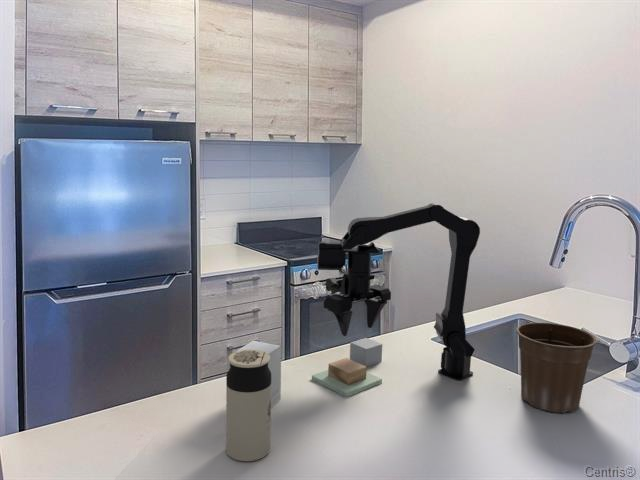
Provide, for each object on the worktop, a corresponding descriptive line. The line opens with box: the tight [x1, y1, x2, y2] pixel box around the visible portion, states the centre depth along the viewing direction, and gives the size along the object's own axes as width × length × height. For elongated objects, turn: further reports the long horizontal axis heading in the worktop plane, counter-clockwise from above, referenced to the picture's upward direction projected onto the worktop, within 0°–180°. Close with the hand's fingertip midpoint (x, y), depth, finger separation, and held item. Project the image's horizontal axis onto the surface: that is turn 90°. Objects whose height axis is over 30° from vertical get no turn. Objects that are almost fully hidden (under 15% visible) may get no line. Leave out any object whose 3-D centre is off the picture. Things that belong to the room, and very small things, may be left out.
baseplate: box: [311, 369, 383, 398], centre depth 125 cm, size 12×12×1 cm
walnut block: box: [327, 357, 368, 385], centre depth 124 cm, size 7×6×3 cm
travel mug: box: [225, 350, 272, 462], centre depth 93 cm, size 8×8×18 cm
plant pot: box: [516, 322, 598, 414], centre depth 116 cm, size 16×16×16 cm
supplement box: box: [235, 340, 282, 408], centre depth 111 cm, size 7×7×13 cm
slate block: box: [349, 337, 383, 367], centre depth 137 cm, size 6×6×5 cm
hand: (357, 331), depth 128 cm, fingers open, 9 cm apart
